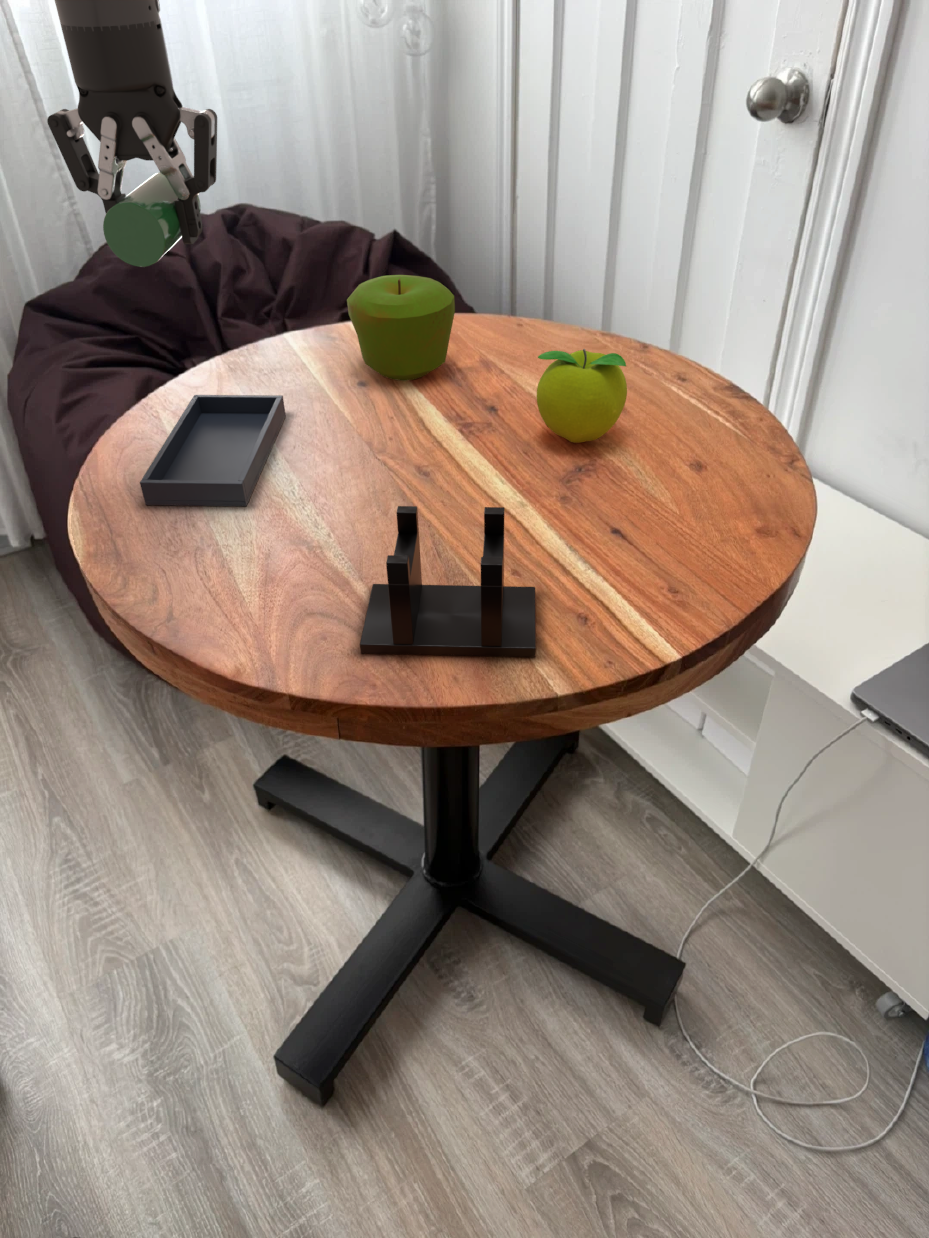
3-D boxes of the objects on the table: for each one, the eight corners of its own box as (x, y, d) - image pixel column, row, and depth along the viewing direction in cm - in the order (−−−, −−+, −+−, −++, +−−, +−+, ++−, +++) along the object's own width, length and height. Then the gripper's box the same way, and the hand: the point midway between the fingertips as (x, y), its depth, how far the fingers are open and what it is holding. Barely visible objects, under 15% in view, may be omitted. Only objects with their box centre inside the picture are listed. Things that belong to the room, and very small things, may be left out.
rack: (360, 653, 74) (349, 562, 68) (373, 592, 80) (364, 504, 74) (535, 657, 73) (539, 566, 67) (535, 595, 79) (538, 506, 74)
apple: (473, 361, 117) (472, 271, 109) (418, 399, 109) (413, 304, 101) (392, 341, 122) (386, 254, 115) (335, 376, 114) (324, 284, 107)
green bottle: (170, 268, 79) (158, 204, 75) (110, 265, 79) (96, 201, 76) (220, 216, 90) (211, 158, 87) (168, 214, 90) (157, 156, 87)
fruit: (606, 464, 96) (614, 374, 90) (523, 446, 99) (526, 358, 93) (633, 426, 103) (642, 339, 96) (555, 410, 106) (559, 325, 99)
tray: (246, 506, 91) (242, 483, 90) (145, 505, 92) (139, 482, 90) (286, 416, 106) (282, 395, 104) (198, 415, 106) (194, 394, 105)
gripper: (-2, 23, 69) (64, 254, 80) (185, 21, 68) (226, 256, 79) (41, 10, 75) (97, 228, 86) (214, 8, 74) (249, 229, 85)
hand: (159, 240), depth 82 cm, fingers closed on green bottle, 5 cm apart
